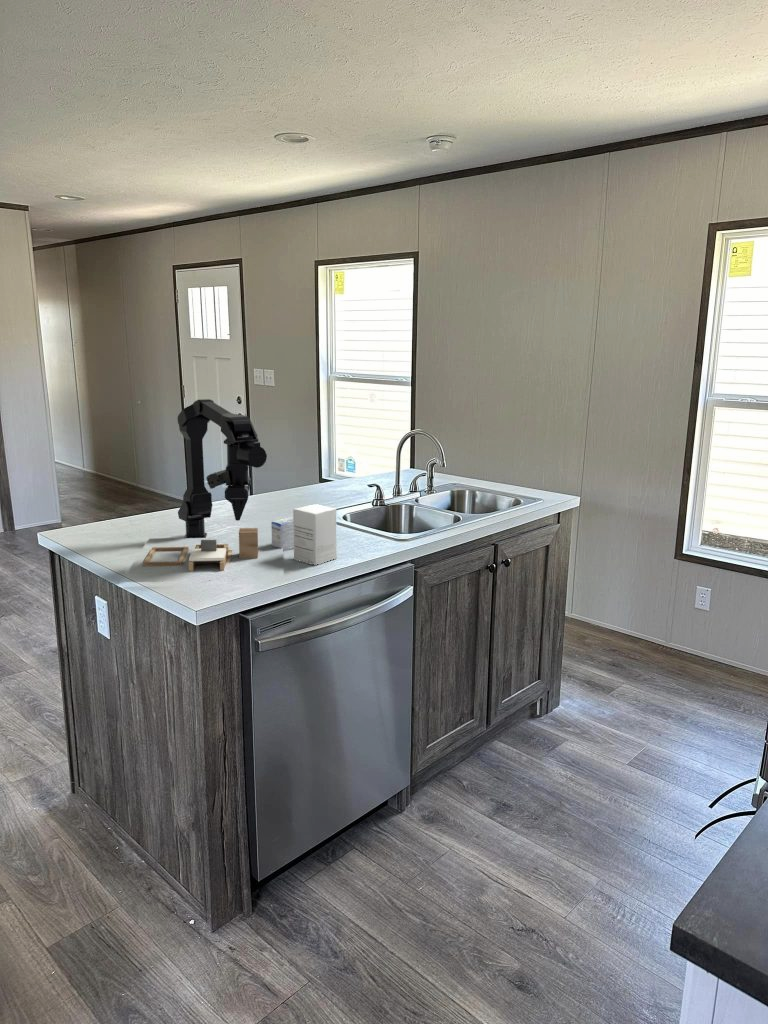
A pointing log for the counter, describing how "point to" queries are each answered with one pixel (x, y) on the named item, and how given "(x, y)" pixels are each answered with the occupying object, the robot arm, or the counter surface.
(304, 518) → the supplement box
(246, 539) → the walnut block
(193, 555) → the lid
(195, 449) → the robot arm
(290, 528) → the medicine box
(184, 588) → the counter surface
